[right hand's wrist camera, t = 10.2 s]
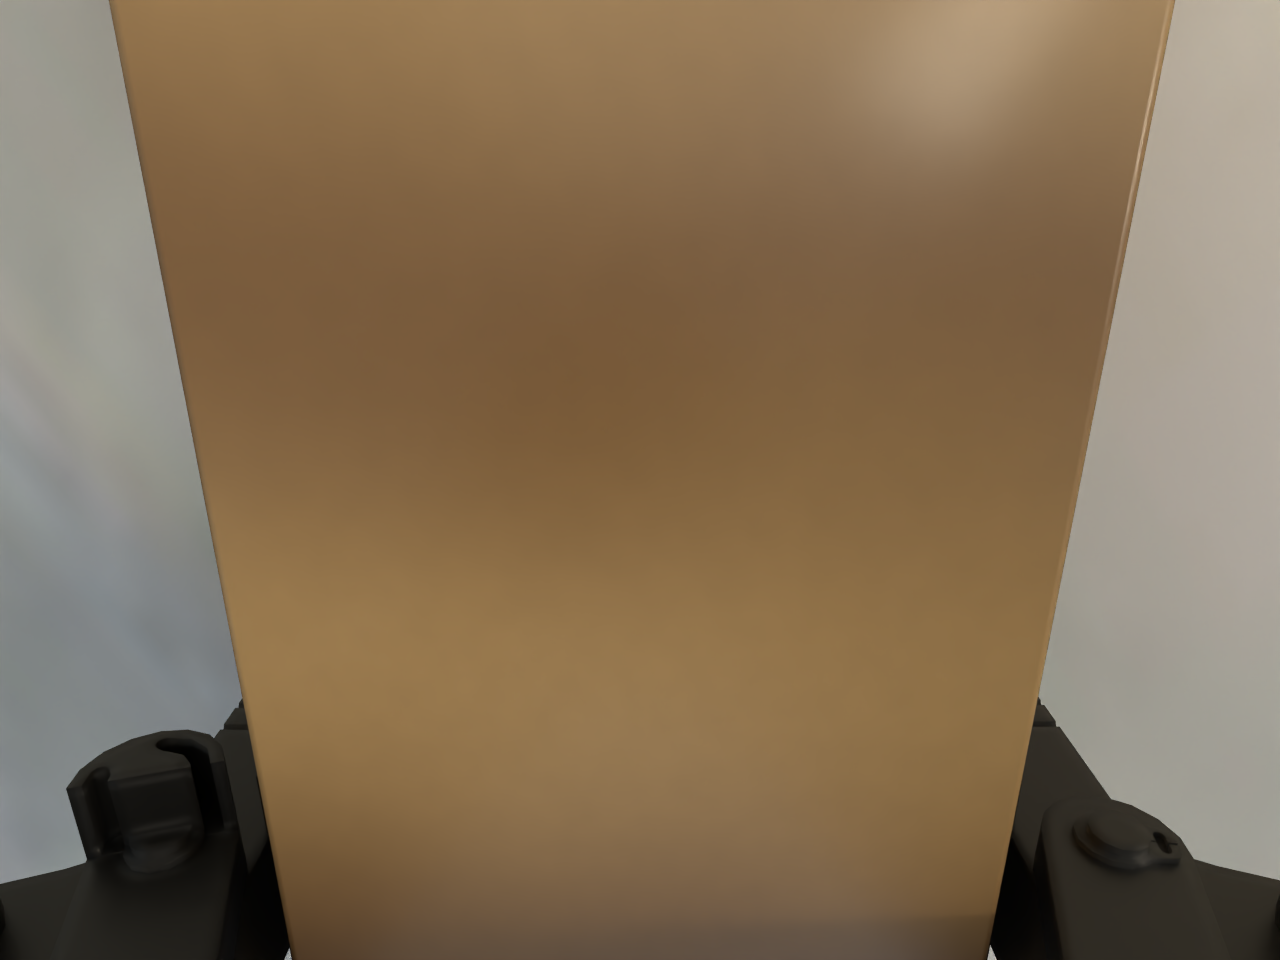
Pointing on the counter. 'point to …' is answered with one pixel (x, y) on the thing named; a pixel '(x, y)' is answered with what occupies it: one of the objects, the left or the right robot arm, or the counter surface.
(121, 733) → the counter surface
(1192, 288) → the counter surface
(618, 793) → the beam
